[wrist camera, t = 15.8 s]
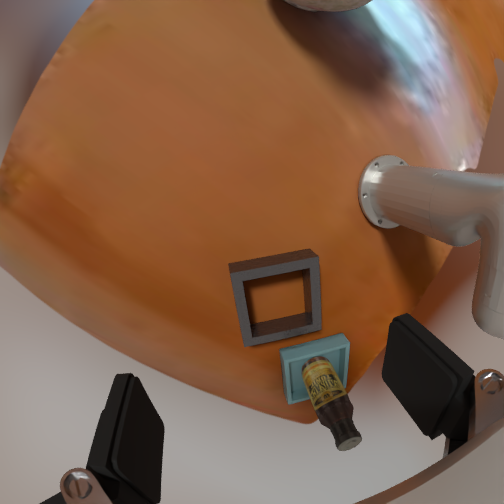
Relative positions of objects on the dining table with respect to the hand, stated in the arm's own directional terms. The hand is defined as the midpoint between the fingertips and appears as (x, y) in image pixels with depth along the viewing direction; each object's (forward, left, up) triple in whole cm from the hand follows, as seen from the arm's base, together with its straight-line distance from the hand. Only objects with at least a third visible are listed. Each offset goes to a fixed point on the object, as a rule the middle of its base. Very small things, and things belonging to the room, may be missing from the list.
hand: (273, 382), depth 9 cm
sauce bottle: (-12, +32, -33) cm, 47 cm away
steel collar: (-6, +14, -33) cm, 37 cm away
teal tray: (-12, +32, -33) cm, 48 cm away
